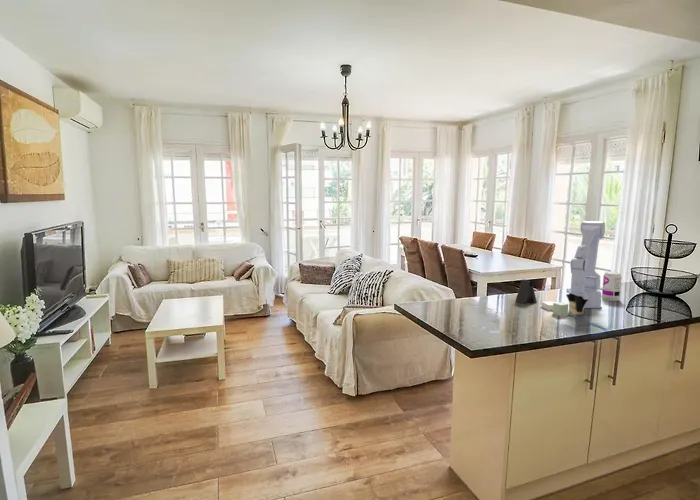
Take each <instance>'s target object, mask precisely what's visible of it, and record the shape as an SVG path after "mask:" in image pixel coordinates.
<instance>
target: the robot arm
mask: <svg viewBox="0 0 700 500" xmlns="http://www.w3.org/2000/svg"><path fill="white" fill-rule="evenodd" d="M579 229H580V232H581V235H582V240H581V243H580V245H579V246H578V247H577V249H576V251H575V255H574V258H571V260H570V264H569V265H570V274H571V280H570V281H571V283H570V288H566V293H567V294H566V298H567V300H568V302H569V301H576V310H577V312H582V310H583V307H584V309H602V291H600V288H601V275H600V274H599V273H598V272H597V271H596V266H597V257H598V250H599V249H598V248H599V244H600V240H601V239H604V237H605V232H606V223H605V222H604V221H595V220H594V221H593V220H591V221H589V220H588V221H587V220H582V222H581V223H580V228H579Z"/></svg>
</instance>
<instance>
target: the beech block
mask: <svg viewBox="0 0 700 500" xmlns="http://www.w3.org/2000/svg"><path fill="white" fill-rule="evenodd" d="M584 310H585V308H584V307H583V310H582V312H577V310H576V301H569V300H568V313H570V314H573V315H581V316H582V315H584V312H585V311H584Z"/></svg>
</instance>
